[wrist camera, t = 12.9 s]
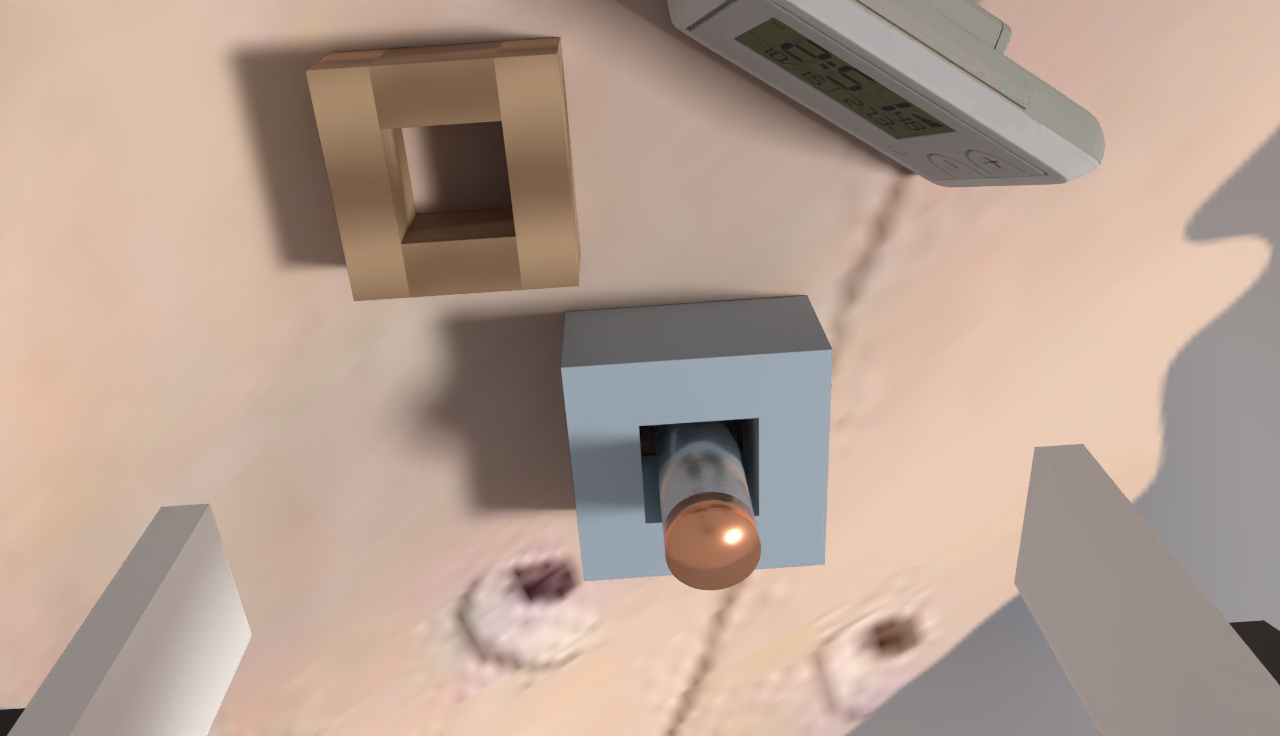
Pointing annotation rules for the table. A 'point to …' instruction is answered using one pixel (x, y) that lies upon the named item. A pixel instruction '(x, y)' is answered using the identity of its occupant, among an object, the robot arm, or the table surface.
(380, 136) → the mount
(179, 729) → the robot arm
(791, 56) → the digital clock
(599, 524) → the socket
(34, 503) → the table surface
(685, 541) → the lock pin
